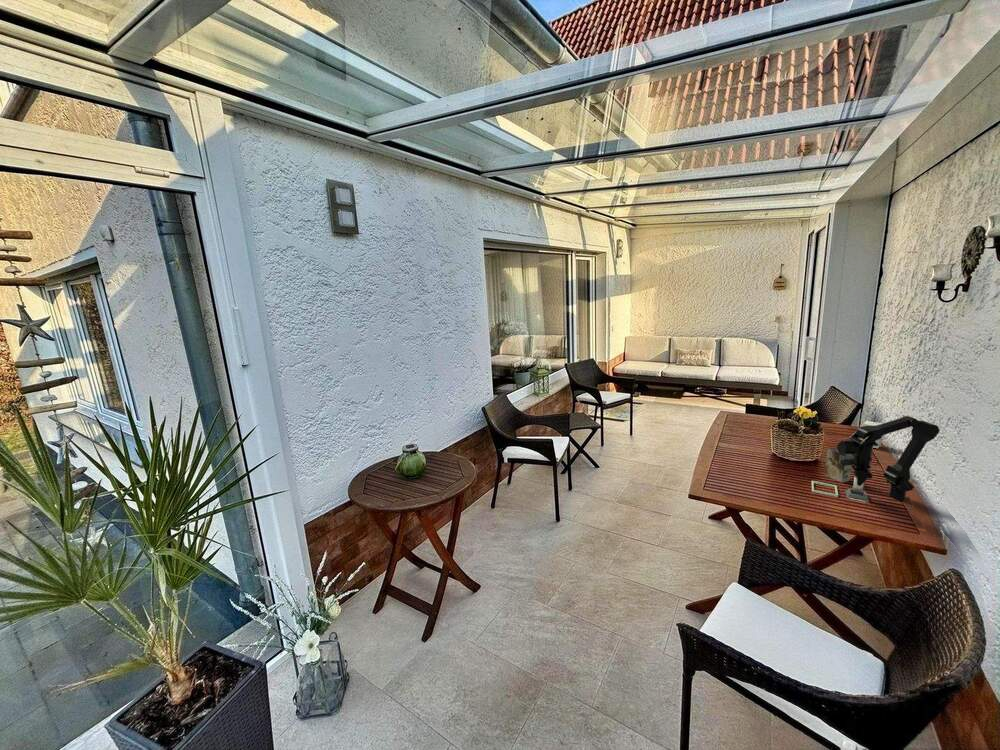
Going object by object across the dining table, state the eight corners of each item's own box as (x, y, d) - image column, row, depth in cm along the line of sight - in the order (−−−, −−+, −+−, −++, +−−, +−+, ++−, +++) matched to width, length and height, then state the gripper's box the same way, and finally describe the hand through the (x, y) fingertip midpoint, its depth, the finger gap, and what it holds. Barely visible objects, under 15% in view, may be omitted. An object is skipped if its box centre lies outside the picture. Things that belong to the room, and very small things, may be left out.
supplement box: (878, 450, 253) (882, 427, 250) (859, 446, 260) (862, 423, 257) (881, 446, 258) (885, 423, 255) (862, 442, 265) (866, 420, 262)
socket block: (845, 491, 206) (845, 486, 206) (866, 495, 202) (867, 490, 201) (846, 499, 198) (847, 494, 198) (868, 504, 194) (869, 499, 193)
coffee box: (850, 481, 216) (854, 453, 212) (842, 484, 214) (846, 455, 210) (831, 474, 224) (835, 446, 221) (823, 476, 222) (827, 448, 219)
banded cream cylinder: (852, 486, 202) (854, 469, 200) (862, 488, 200) (865, 471, 198) (852, 489, 199) (855, 472, 197) (863, 491, 197) (866, 474, 195)
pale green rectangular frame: (811, 483, 215) (811, 480, 215) (835, 488, 209) (836, 485, 209) (812, 493, 205) (812, 490, 205) (837, 498, 200) (838, 495, 199)
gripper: (840, 444, 207) (835, 472, 211) (843, 456, 193) (838, 487, 196) (869, 448, 201) (864, 477, 204) (875, 462, 186) (869, 493, 189)
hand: (858, 483), depth 199 cm, fingers closed on banded cream cylinder, 4 cm apart
